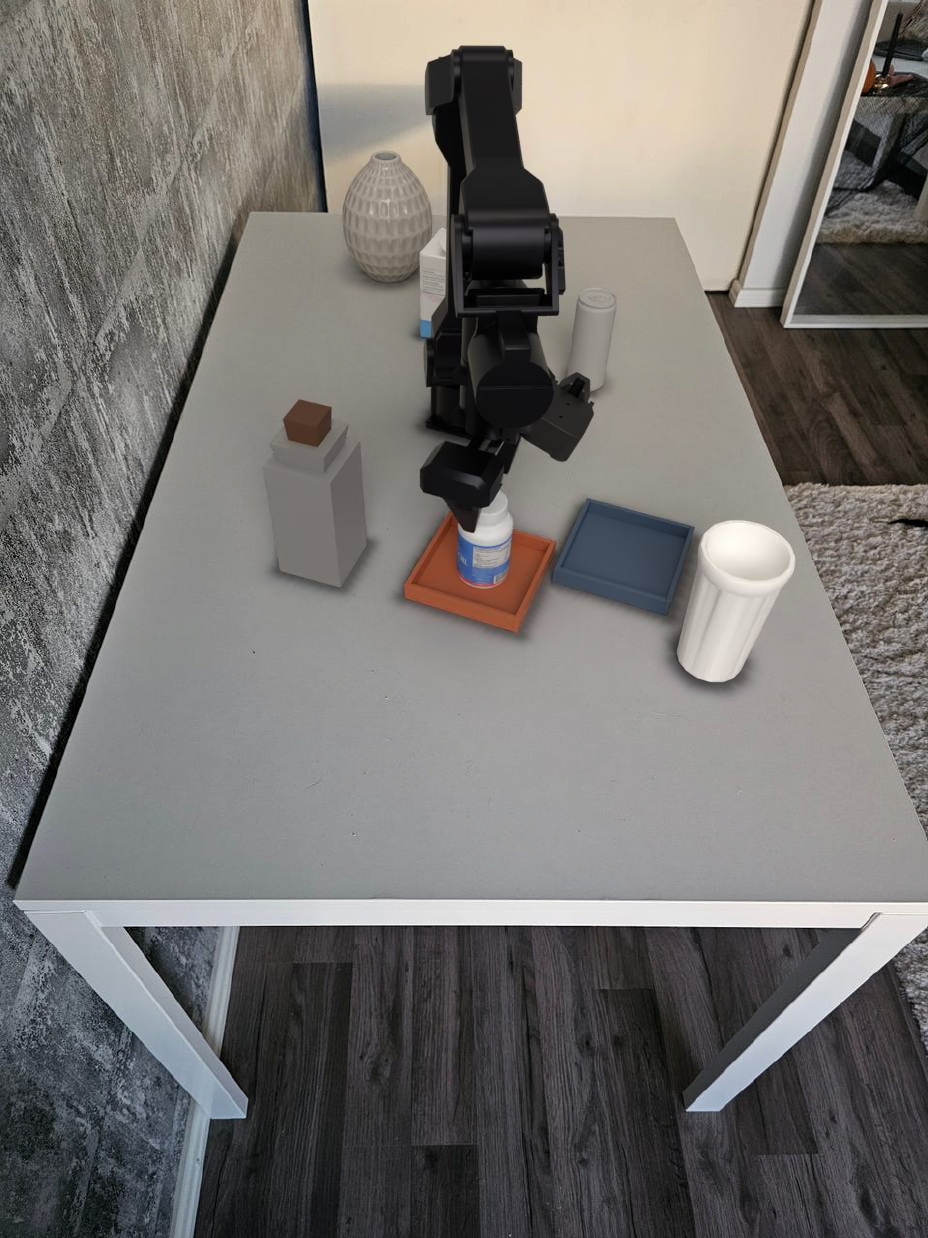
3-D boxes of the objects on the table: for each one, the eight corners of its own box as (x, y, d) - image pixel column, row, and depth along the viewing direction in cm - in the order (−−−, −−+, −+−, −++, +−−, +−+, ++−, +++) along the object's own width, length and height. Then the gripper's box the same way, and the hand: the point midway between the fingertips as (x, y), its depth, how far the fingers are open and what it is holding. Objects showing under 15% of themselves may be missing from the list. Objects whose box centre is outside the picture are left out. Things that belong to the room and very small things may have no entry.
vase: (344, 253, 139) (337, 137, 127) (428, 251, 140) (428, 136, 128) (346, 295, 130) (338, 175, 118) (435, 293, 132) (437, 174, 119)
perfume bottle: (366, 544, 96) (357, 400, 83) (340, 587, 92) (325, 442, 78) (308, 529, 97) (290, 384, 84) (279, 570, 93) (255, 425, 80)
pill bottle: (454, 554, 95) (456, 481, 88) (505, 552, 95) (511, 479, 88) (458, 592, 91) (461, 519, 84) (511, 590, 92) (518, 517, 84)
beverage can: (601, 396, 116) (616, 309, 107) (563, 390, 116) (575, 303, 107) (605, 375, 119) (619, 289, 110) (568, 370, 119) (580, 284, 110)
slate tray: (552, 581, 93) (554, 568, 92) (584, 510, 101) (587, 497, 99) (666, 615, 90) (670, 602, 89) (691, 539, 98) (695, 526, 97)
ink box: (477, 348, 122) (481, 252, 112) (418, 336, 124) (417, 240, 114) (496, 317, 128) (502, 223, 118) (440, 306, 129) (441, 212, 119)
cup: (733, 706, 83) (778, 599, 72) (652, 668, 86) (684, 560, 75) (763, 649, 88) (809, 541, 77) (685, 615, 91) (720, 506, 80)
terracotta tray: (404, 597, 91) (404, 584, 90) (449, 523, 99) (449, 510, 97) (517, 633, 88) (518, 620, 87) (554, 554, 96) (556, 540, 94)
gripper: (555, 442, 67) (536, 590, 78) (620, 321, 79) (595, 465, 90) (416, 407, 69) (417, 555, 81) (499, 294, 81) (490, 438, 93)
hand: (486, 500), depth 86 cm, fingers open, 9 cm apart
